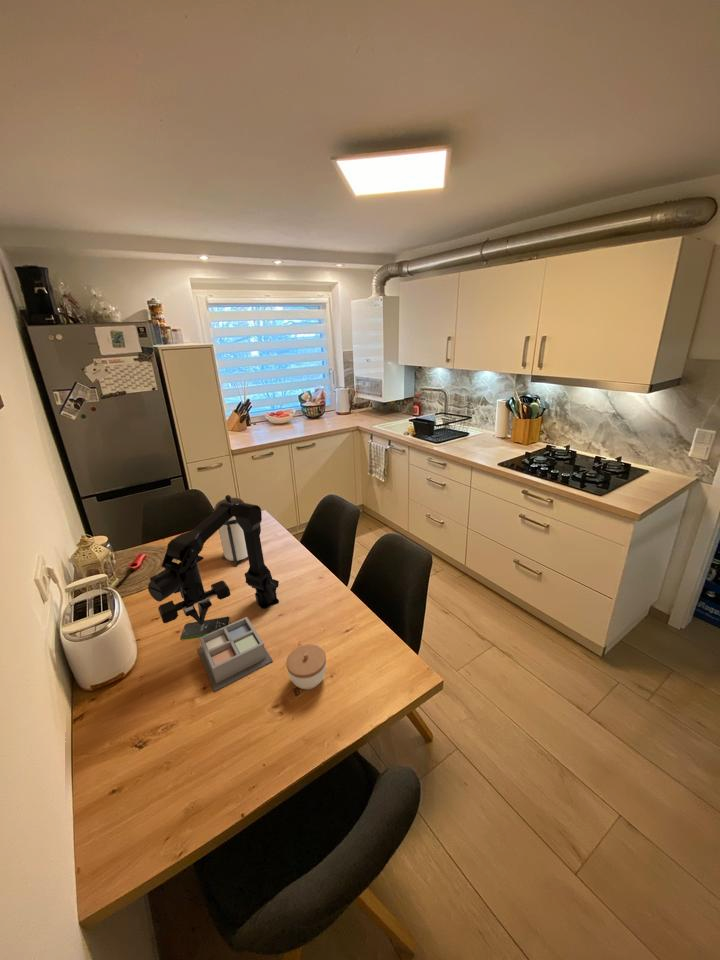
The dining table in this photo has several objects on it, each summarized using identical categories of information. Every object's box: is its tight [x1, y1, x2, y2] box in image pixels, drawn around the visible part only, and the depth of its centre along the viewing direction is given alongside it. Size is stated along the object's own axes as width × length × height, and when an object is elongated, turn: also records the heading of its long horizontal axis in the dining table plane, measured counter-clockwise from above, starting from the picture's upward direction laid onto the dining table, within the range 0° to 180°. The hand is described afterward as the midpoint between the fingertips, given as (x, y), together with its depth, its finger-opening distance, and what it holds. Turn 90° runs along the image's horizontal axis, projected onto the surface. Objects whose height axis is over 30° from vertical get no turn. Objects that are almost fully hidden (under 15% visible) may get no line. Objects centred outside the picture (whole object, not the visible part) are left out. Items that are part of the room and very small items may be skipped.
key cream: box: [206, 635, 227, 650], centre depth 117 cm, size 6×6×3 cm
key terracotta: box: [212, 648, 234, 665], centre depth 111 cm, size 6×6×3 cm
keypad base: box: [197, 616, 273, 692], centre depth 115 cm, size 17×19×6 cm
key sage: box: [235, 635, 258, 653], centre depth 114 cm, size 6×6×3 cm
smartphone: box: [180, 616, 231, 640], centre depth 128 cm, size 8×1×15 cm
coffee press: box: [213, 494, 262, 567], centre depth 166 cm, size 17×16×30 cm
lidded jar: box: [285, 643, 327, 691], centre depth 105 cm, size 11×11×9 cm
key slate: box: [229, 625, 249, 639], centre depth 120 cm, size 6×6×3 cm
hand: (201, 623), depth 114 cm, fingers closed
